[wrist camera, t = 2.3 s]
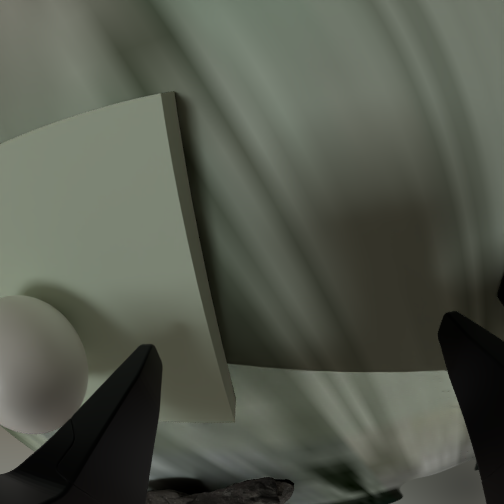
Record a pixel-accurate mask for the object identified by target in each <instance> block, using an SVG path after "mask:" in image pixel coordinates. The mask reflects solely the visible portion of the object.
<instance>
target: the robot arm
mask: <svg viewBox="0 0 504 504" xmlns="http://www.w3.org/2000/svg"><path fill="white" fill-rule="evenodd" d="M497 297H498V299H499V301H500V302H501V303H502V304H503V306H504V277H503V280H502V283H501V286H500V289H499V292H498V296H497ZM438 339H439V343H440V346H441V349H442V353H443V356H444V360H445V364H446V367H447V371H448V374H449V378H450V380H451V383H452V386H453V389H454V391H455V394H456V397H457V400H458V403H459V406H460V408H461V411H462V414H463V417H464V420H465V423H466V427H467V430H468V433H469V436H470V440H471V443H472V446H473V450H474V453H475V457H476V461H477V464H478V468H479V472H480V476H481V480H482V485H483V490H484V494H485V498H486V503H487V504H504V341H502V340H501V339H499V338H498V337H496V336H495V335H493V334H492V333H490V332H489V331H487V330H485V329H484V328H482V327H481V326H479V325H478V324H476V323H475V322H473V321H471V320H470V319H468V318H467V317H465V316H463V315H462V314H460V313H459V312H457V311H452V312H448V313H445V314H444V316H443V319H442V322H441V325H440V328H439V331H438ZM162 371H163V365H162V361H161V359H160V356H159V354H158V352H157V349H156V347H155V346H154V345H153V344H141V345H139V346H138V347H137V348H136V350H135V351H134V352H133V353H132V354H131V355H130V356H129V357H128V358H127V359H126V360H125V361H124V362H123V363H122V364H121V365H120V366H119V367H118V368H117V369H116V370H115V371H114V372H113V373H112V375H111V376H110V377H109V378H108V379H107V380H106V381H105V382H104V383H103V384H102V385H101V386H100V387H99V388H98V389H97V390H96V391H95V392H94V393H93V394H92V396H91V397H90V398H89V399H88V400H87V401H86V402H85V403H84V404H83V405H82V406H81V407H80V408H79V409H78V410H77V411H76V412H75V413H74V415H73V416H72V417H71V419H69V420H68V421H67V422H66V423H65V424H64V425H63V426H62V427H61V428H60V429H59V430H58V431H57V432H56V433H55V434H54V435H53V436H52V437H51V438H50V439H49V440H48V441H47V442H46V443H45V444H43V445H42V446H41V447H40V448H39V449H38V450H37V451H35V452H34V454H32V455H31V456H30V457H29V458H27V459H26V460H25V461H24V462H23V463H22V464H20V465H19V466H18V467H17V468H15V469H14V470H12V471H10V472H8V473H5V474H0V504H146V496H147V489H148V482H149V475H150V468H151V462H152V455H153V449H154V443H155V437H156V431H157V425H158V419H159V413H160V401H161V385H162Z"/></svg>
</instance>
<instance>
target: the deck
mask: <svg viewBox="0 0 504 504" xmlns="http://www.w3.org/2000/svg"><path fill="white" fill-rule="evenodd" d="M11 295H24V296H30V297H34V298H37V299H39V300H42V301H44V302H46V303H48V304H50V305H51V306H53V307H54V308H56V309H57V310H58V311H59V312H61V313H62V314H63V315H64V316H65V317H66V318H67V320H68V321H69V322H70V323H71V324H72V326H73V327H74V329H75V330H76V332H77V333H78V335H79V337H80V340H81V342H82V344H83V346H84V349H85V353H86V357H87V362H88V385H87V391H86V394H85V398H84V400H83V402H82V404H81V406H82V405H83V404H84V403H85V402H86V401H87V400H88V399H89V398H90V397H91V396H92V394H93V393H94V392H95V391H96V390H97V389H98V388H99V387H100V386H101V385H102V384H103V383H104V382H105V381H106V380H107V379H108V378H109V377H110V376H111V375H112V373H113V372H114V371H115V370H116V369H117V368H118V367H119V366H120V365H121V364H122V363H123V362H124V361H125V360H126V359H127V358H128V357H129V356H130V355H131V354H132V353H133V352H134V351H135V350H136V348H137V347H138V346H139V345H141V344H153V345H154V346H155V347H156V349H157V352H158V354H159V356H160V359H161V361H162V365H163V371H162V385H161V401H160V413H159V419H158V421H164V422H191V423H227V422H235V404H236V397H235V393H234V389H233V385H232V382H231V378H230V374H229V370H228V365H227V361H226V357H225V353H224V349H223V345H222V341H221V336H220V332H219V328H218V323H217V319H216V315H215V310H214V306H213V301H212V297H211V292H210V287H209V283H208V278H207V273H206V269H205V264H204V259H203V254H202V249H201V244H200V239H199V234H198V229H197V224H196V219H195V213H194V208H193V203H192V197H191V192H190V186H189V181H188V175H187V169H186V163H185V157H184V151H183V145H182V139H181V133H180V127H179V120H178V114H177V107H176V100H175V93H174V91H172V92H166V93H160V94H155V95H151V96H146V97H142V98H137V99H133V100H129V101H125V102H121V103H117V104H113V105H110V106H106V107H102V108H99V109H95V110H92V111H88V112H85V113H82V114H79V115H76V116H72V117H69V118H66V119H63V120H60V121H58V122H55V123H52V124H49V125H46V126H44V127H41V128H38V129H36V130H33V131H30V132H28V133H25V134H23V135H20V136H18V137H16V138H13V139H11V140H8V141H6V142H4V143H2V144H0V298H2V297H5V296H11ZM81 406H80V407H81Z"/></svg>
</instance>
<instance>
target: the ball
mask: <svg viewBox="0 0 504 504" xmlns="http://www.w3.org/2000/svg"><path fill="white" fill-rule="evenodd" d="M87 385H88V362H87V357H86V353H85V349H84V346H83V344H82V342H81V340H80V337H79V335H78V333H77V332H76V330H75V329H74V327H73V326H72V324H71V323H70V322H69V321H68V320H67V318H66V317H65V316H64V315H63V314H62V313H61V312H59V311H58V310H57V309H56V308H54V307H53V306H51V305H50V304H48V303H46V302H44V301H42V300H39V299H37V298H34V297H30V296H24V295H11V296H5V297H2V298H0V424H1V425H2V426H4V427H6V428H9V429H11V430H13V431H16V432H20V433H25V434H42V433H47V432H50V431H53V430H56V429H58V428H60V427H61V426H63V425H64V424H65V423H66V422H67V421H68V420H69V419H71V417H72V416H73V415H74V413H75V412H76V411H77V410H78V409H79V408H80V406H81V404H82V402H83V400H84V398H85V394H86V391H87Z"/></svg>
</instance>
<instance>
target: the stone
mask: <svg viewBox="0 0 504 504" xmlns="http://www.w3.org/2000/svg"><path fill="white" fill-rule="evenodd" d="M293 491H294V483H293V482H292V481H290V480H288V479H285V480H284V479H274V478H272V477H264V478H259V479H251V480H246V481H243V482H240V483H235V484H233V485H231V486H227V487H226V488H224V489H218V490H216V491H213V492H203V493H196V494H192V495H188V494H186V493H182V492H178V491H175V490H169V489H167V490H151V491H148V492H147V496H146V504H284V503H285V502H286V501H287V500H288V499H289V498H290V497H291V496H292V493H293Z"/></svg>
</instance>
